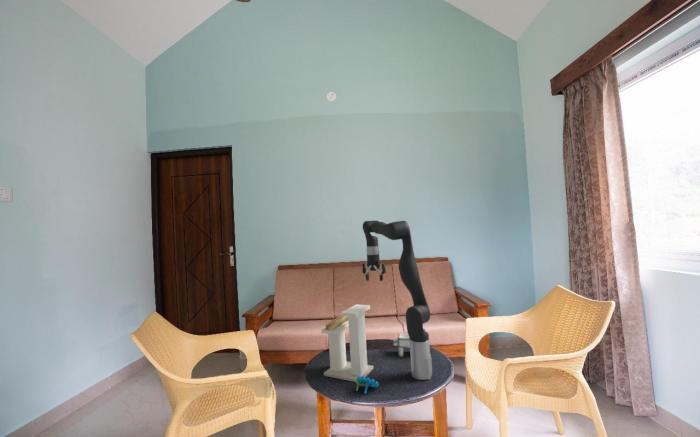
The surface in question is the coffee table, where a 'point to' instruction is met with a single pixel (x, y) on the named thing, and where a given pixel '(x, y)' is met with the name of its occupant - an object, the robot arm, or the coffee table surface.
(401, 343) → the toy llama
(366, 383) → the blue legged figure
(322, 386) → the coffee table surface
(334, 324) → the wooden slat
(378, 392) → the coffee table surface
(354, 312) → the two-step rack
